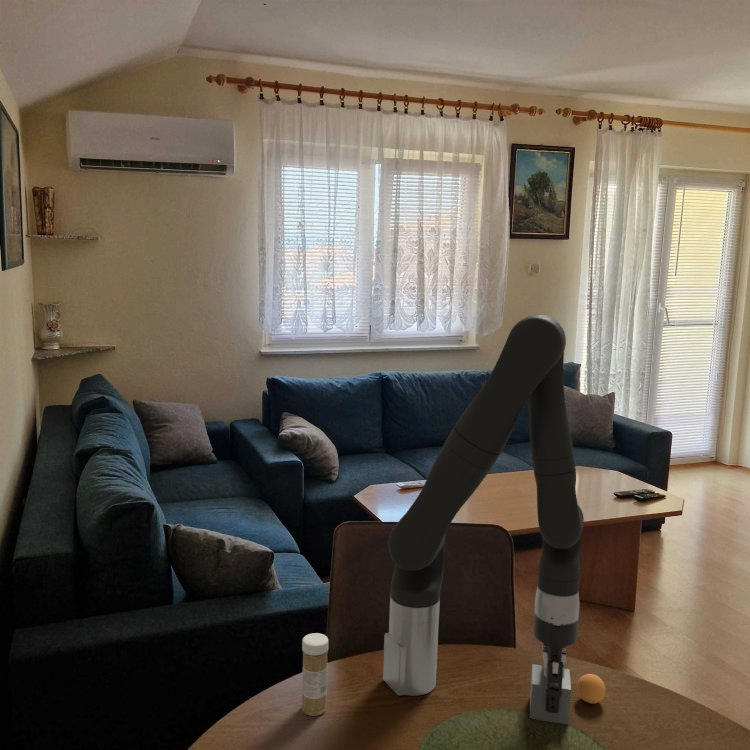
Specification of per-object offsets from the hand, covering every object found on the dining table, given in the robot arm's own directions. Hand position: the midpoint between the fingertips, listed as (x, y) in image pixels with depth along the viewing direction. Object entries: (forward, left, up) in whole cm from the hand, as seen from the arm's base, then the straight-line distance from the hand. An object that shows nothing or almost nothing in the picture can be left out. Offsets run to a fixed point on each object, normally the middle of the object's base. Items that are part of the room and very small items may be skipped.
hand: (551, 697), depth 129 cm
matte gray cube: (0, 0, -3) cm, 3 cm away
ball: (+9, -1, 0) cm, 9 cm away
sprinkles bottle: (-38, +18, -3) cm, 43 cm away
